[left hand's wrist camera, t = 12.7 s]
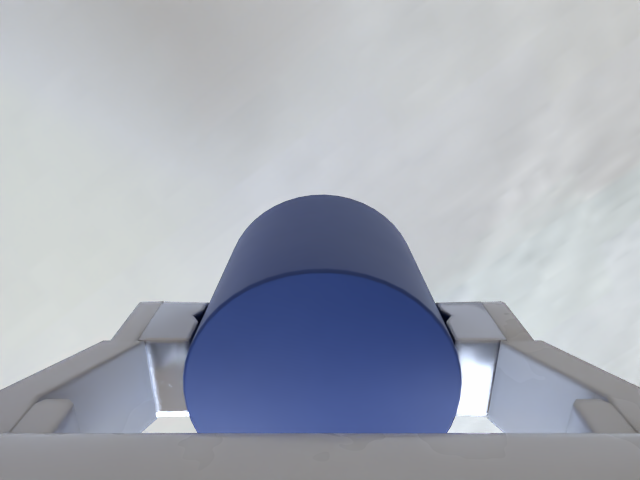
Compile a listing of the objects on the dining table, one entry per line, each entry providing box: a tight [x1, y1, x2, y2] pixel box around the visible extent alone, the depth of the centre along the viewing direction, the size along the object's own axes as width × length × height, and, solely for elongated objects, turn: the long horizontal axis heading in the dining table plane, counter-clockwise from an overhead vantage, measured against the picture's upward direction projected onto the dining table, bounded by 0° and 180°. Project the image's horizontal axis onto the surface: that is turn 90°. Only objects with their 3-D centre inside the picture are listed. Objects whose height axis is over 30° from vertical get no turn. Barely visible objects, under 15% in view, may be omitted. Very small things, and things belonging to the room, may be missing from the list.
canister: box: [183, 195, 462, 433], centre depth 10 cm, size 5×5×4 cm
